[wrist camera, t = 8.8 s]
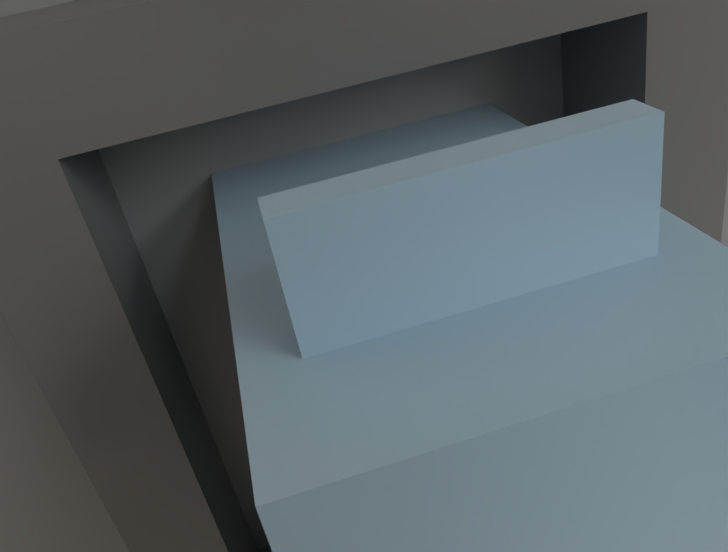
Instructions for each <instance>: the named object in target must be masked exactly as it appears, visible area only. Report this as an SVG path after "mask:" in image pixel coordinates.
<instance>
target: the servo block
mask: <svg viewBox="0 0 728 552" xmlns="http://www.w3.org/2000/svg"><path fill="white" fill-rule="evenodd" d="M664 115H665V112H664V111H662V110H659V109H657V108H654V107H652V106H649V105H647V104H644V103H642V102H639V101H637V100H634V99H631V100H627V101H623V102H620V103H616V104H612V105H608V106H604V107H600V108H597V109H593V110H589V111H585V112H581V113H578V114H574V115H570V116H566V117H562V118H559V119H555V120H551V121H547V122H543V123H540V124H536V125H532V126H526V125H524V124H523V123H521V122H519V121H518V120H516V119H514V118H513V117H511V116H509V115H508V114H506V113H504V112H503V111H501V110H499V109H498V108H496V107H494V106H493V105H491V104H489V103H487V104H483V105H479V106H475V107H471V108H467V109H463V110H460V111H456V112H452V113H448V114H444V115H440V116H436V117H432V118H428V119H424V120H420V121H417V122H413V123H409V124H405V125H401V126H397V127H393V128H389V129H385V130H381V131H378V132H374V133H370V134H366V135H362V136H358V137H354V138H350V139H346V140H342V141H339V142H335V143H331V144H327V145H323V146H319V147H315V148H311V149H307V150H303V151H300V152H296V153H292V154H288V155H284V156H280V157H276V158H272V159H268V160H264V161H261V162H257V163H253V164H249V165H245V166H241V167H237V168H233V169H229V170H225V171H222V172H218V173H214V174H211V175H212V183H213V190H214V198H215V205H216V213H217V220H218V228H219V236H220V243H221V251H222V258H223V266H224V273H225V281H226V289H227V296H228V304H229V311H230V319H231V326H232V334H233V342H234V349H235V357H236V364H237V372H238V380H239V387H240V395H241V402H242V410H243V417H244V425H245V433H246V440H247V448H248V455H249V463H250V470H251V478H252V486H253V493H254V501H255V507H256V510H257V513H258V515H259V518H260V521H261V523H262V526H263V529H264V531H265V534H266V536H267V539H268V542H269V544H270V547H271V550H272V552H728V247H727V246H725V245H723V244H722V243H720V242H718V241H717V240H715V239H713V238H712V237H710V236H708V235H707V234H705V233H703V232H702V231H700V230H699V229H697V228H695V227H694V226H692V225H690V224H689V223H687V222H685V221H684V220H682V219H680V218H679V217H677V216H675V215H674V214H672V213H670V212H669V211H667V210H665V209H664V208H662V207H660V204H661V182H662V159H663V137H664Z"/></svg>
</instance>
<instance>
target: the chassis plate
mask: <svg viewBox="0 0 728 552" xmlns="http://www.w3.org/2000/svg"><path fill="white" fill-rule="evenodd" d="M631 99H634V100H637V101H639V102H642V103H644V104H647V105H649V106H652V107H654V108H657V109H659V110H662V111H664V112H665V115H664V137H663V159H662V182H661V204H660V207H662V208H664V209H665V210H667V211H669V212H670V213H672V214H674V215H675V216H677V217H679V218H680V219H682V220H684V221H685V222H687V223H689V224H690V225H692V226H694V227H695V228H697V229H699V230H700V231H702V232H703V233H705V234H707V235H708V236H710V237H712V238H713V239H715V240H717V241H718V242H720V243H722V244H723V245H725V246H727V247H728V0H0V552H272V550H271V547H270V544H269V542H268V539H267V536H266V534H265V531H264V529H263V526H262V523H261V521H260V518H259V515H258V513H257V510H256V507H255V501H254V493H253V486H252V478H251V470H250V463H249V455H248V448H247V440H246V433H245V425H244V417H243V410H242V402H241V395H240V387H239V380H238V372H237V364H236V357H235V349H234V342H233V334H232V326H231V319H230V311H229V304H228V296H227V289H226V281H225V273H224V266H223V258H222V251H221V243H220V236H219V228H218V220H217V213H216V205H215V198H214V190H213V183H212V175H211V174H214V173H218V172H222V171H225V170H229V169H233V168H237V167H241V166H245V165H249V164H253V163H257V162H261V161H264V160H268V159H272V158H276V157H280V156H284V155H288V154H292V153H296V152H300V151H303V150H307V149H311V148H315V147H319V146H323V145H327V144H331V143H335V142H339V141H342V140H346V139H350V138H354V137H358V136H362V135H366V134H370V133H374V132H378V131H381V130H385V129H389V128H393V127H397V126H401V125H405V124H409V123H413V122H417V121H420V120H424V119H428V118H432V117H436V116H440V115H444V114H448V113H452V112H456V111H460V110H463V109H467V108H471V107H475V106H479V105H483V104H487V103H489V104H491V105H493V106H494V107H496V108H498V109H499V110H501V111H503V112H504V113H506V114H508V115H509V116H511V117H513V118H514V119H516V120H518V121H519V122H521V123H523V124H524V125H526V126H532V125H536V124H540V123H543V122H547V121H551V120H555V119H559V118H562V117H566V116H570V115H574V114H578V113H581V112H585V111H589V110H593V109H597V108H600V107H604V106H608V105H612V104H616V103H620V102H623V101H627V100H631Z"/></svg>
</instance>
